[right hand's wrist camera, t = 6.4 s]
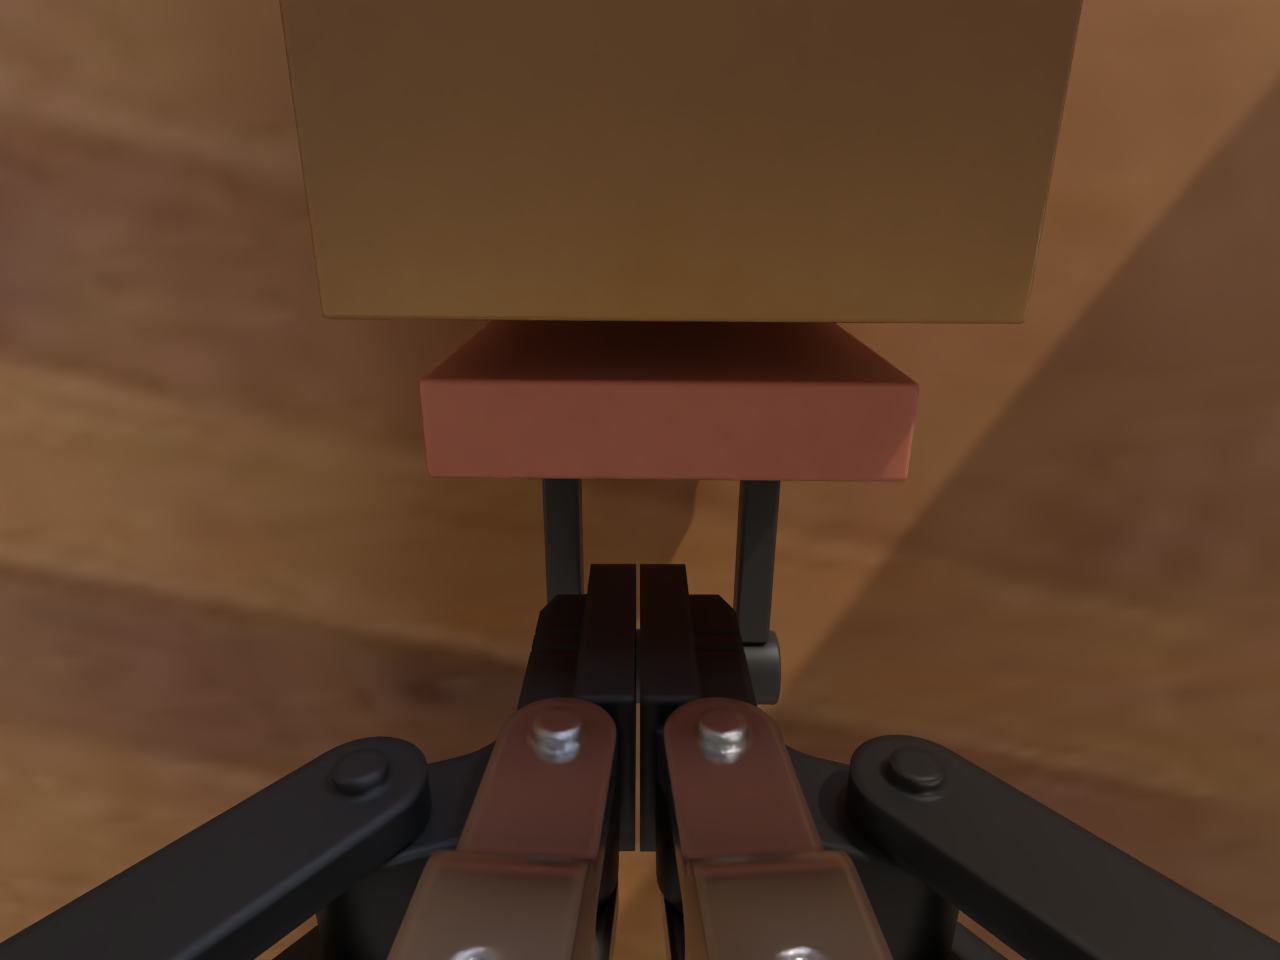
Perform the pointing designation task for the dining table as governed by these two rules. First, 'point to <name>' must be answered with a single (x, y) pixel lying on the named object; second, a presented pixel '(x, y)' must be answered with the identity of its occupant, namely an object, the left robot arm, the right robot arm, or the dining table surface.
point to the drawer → (670, 428)
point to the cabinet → (678, 157)
